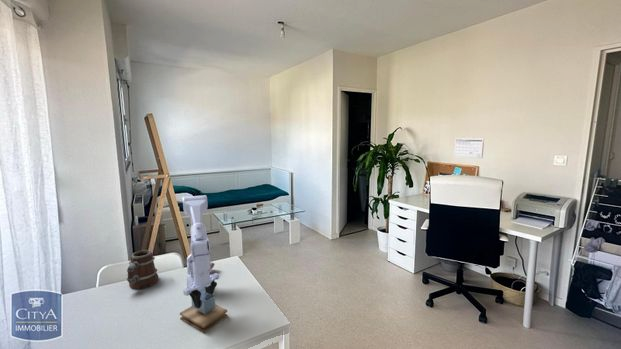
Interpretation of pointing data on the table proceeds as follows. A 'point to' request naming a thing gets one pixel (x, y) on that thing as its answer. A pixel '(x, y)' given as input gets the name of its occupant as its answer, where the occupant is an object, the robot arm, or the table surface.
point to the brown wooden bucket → (142, 270)
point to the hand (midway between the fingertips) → (203, 303)
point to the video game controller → (212, 265)
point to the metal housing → (205, 302)
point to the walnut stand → (203, 318)
